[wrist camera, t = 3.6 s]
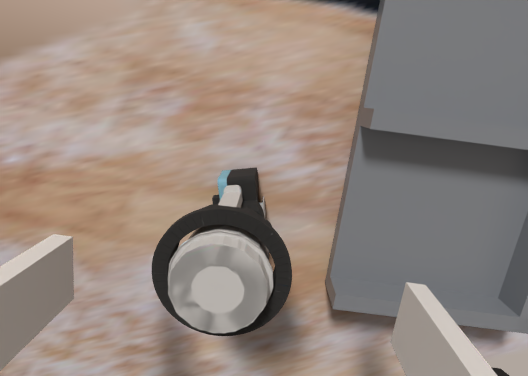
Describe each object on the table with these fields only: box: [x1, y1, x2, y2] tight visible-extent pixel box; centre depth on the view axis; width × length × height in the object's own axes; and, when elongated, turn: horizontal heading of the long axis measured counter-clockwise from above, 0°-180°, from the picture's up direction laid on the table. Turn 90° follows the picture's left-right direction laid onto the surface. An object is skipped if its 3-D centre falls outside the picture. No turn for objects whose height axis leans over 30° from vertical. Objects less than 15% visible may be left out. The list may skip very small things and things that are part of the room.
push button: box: [152, 168, 292, 336], centre depth 17 cm, size 7×5×10 cm
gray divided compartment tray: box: [325, 0, 528, 334], centre depth 19 cm, size 12×22×3 cm, turn 173°
